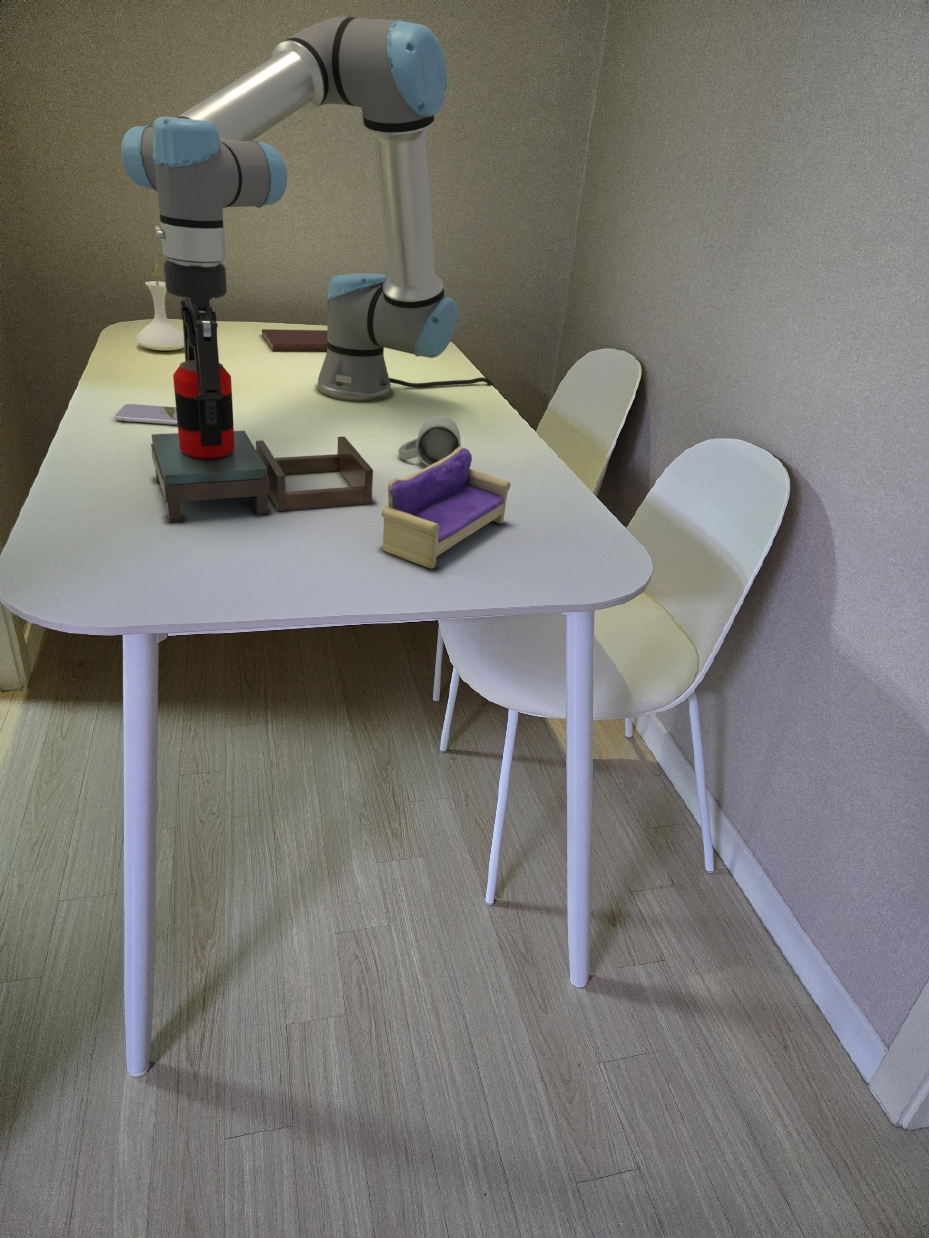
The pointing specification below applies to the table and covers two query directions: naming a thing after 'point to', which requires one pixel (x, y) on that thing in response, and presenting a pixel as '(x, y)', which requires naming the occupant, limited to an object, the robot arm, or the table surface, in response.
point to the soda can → (190, 414)
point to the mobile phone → (147, 414)
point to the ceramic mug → (433, 441)
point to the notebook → (296, 340)
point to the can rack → (343, 461)
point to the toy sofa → (440, 508)
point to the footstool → (209, 474)
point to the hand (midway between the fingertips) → (206, 434)
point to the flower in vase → (160, 319)
